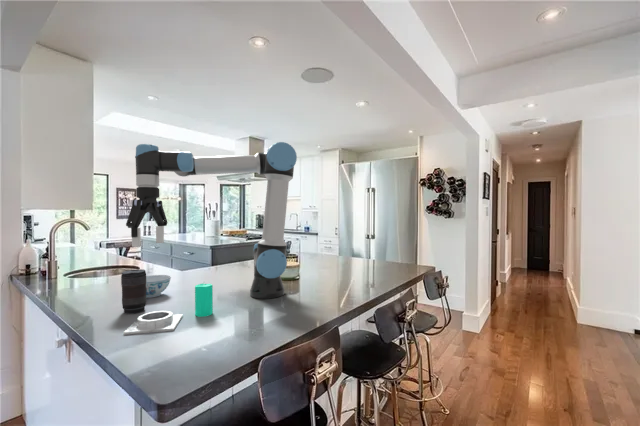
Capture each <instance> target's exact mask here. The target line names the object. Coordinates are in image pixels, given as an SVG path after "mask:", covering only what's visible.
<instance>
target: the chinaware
mask: <svg viewBox="0 0 640 426" xmlns="http://www.w3.org/2000/svg"><path fill="white" fill-rule="evenodd" d="M171 278H172V276H171V275H167V274H155V275H154V274H153V275H146V288H147V291H146V299H147V298H156V297H159V296H162V295H161V294H162V293H163V292H164V291H165V290H166V289H167V288H168V286H170V282H171Z"/></svg>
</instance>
